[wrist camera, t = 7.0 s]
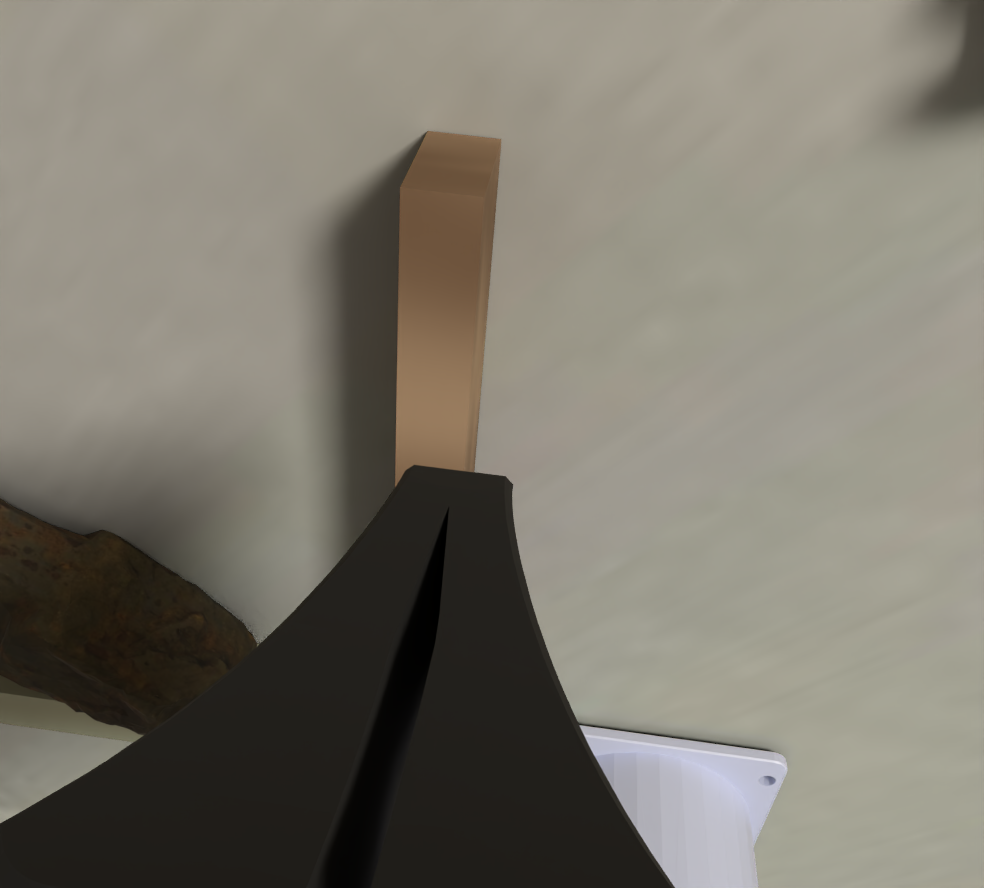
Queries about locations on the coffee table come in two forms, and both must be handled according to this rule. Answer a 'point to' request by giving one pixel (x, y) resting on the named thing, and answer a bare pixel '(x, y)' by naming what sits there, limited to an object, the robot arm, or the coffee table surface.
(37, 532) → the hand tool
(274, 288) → the coffee table surface
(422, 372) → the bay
